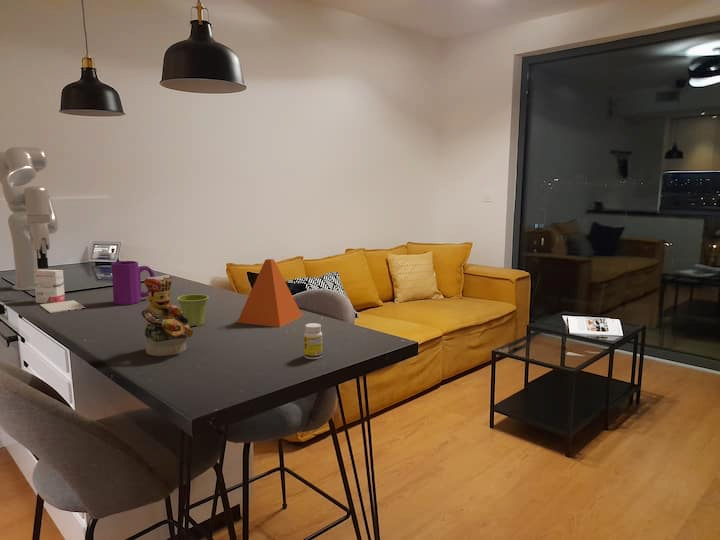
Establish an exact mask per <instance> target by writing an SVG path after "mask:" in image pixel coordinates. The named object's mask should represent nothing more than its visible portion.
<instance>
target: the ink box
mask: <svg viewBox="0 0 720 540" xmlns="http://www.w3.org/2000/svg"><path fill="white" fill-rule="evenodd" d="M34 280H35V294H34V295H35V303H37V304H38V303H39V304H48V303H56V302H64V301H66V299H65V298H66V297H65V295H66V294H65V280H64V270H63V269H42V270H36V271H34Z"/></svg>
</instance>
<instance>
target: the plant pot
mask: <svg viewBox="0 0 720 540" xmlns="http://www.w3.org/2000/svg"><path fill="white" fill-rule="evenodd" d="M208 299H209V296H208V295H206V294H202V293H201V294H198V293H197V294H196V293H195V294H185V295H180V296H178V297H177V299H176V300H177V301H178V304H179V306H180V307H179V308H180V310H181V311H182V313H183V314H184V315H185V316H186V317H187V318H188V319H189V321H188V323H189V324H190V327H194V326H196V327H197V326H202V325H204V323H205V315H206V307H207V306H206V305H207V303H208Z"/></svg>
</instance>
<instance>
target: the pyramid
mask: <svg viewBox="0 0 720 540" xmlns="http://www.w3.org/2000/svg"><path fill="white" fill-rule="evenodd" d="M301 317H303V313H302V312H301V310H300V308H299V306H298V304H297V302H296V301H295V297H294V296H293V293H292V292H291V291H290V288H289V286H288V284H287V282H286V280H285V279H284V276H283V275H282V272H281V270H280V269H279V266H278V265H277V263H276V261H275V259H274V258H268V259H267V258H266V259H265V260H264V262H263V264H262V266H261V268H260V271H259V273H258V275H257V277H256V279H255V282H254V284H253V286H252V288H251V291H250V292H249V295H248V297H247V299H246V302H245V303H244V306H243V308H242V310H241V312H240V314H239V317H238V319H237V321H236V323H239V324H246V325H247V324H250V325H258V326H266V327H267V326H268V327H272V328H273V327H275V328H282V327H283V326H286V325H288V324H290V323H292V322H293V321H296V320H297V319H300V318H301Z"/></svg>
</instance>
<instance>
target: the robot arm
mask: <svg viewBox="0 0 720 540" xmlns="http://www.w3.org/2000/svg"><path fill="white" fill-rule="evenodd" d="M47 165H48V158H47V154H46V152H45V151H44V150H43V149H42V148H40V147H27V146H12V147H9V148H8V149H6V150H5V151H0V184H1V185H2V186H1V187H2V193H3V196H4V199H5V201H6V203H7V206H8V208H9V210H10V211H11V212H12V214H10V215H9V216H8V219H7V223H8V228H9V231H10V236H11V240H12V241H11V243H12V250H13V259H14V267H15V268H14V270H15V271H14V272H15V280H16V284H14V285H12V290H15V291H34V290H35V280H34V271H36V270H46V269H49V260H48V251H49V250H50V248H51V243H50V242H51V241H50V235H52V234H55V233H56V232H57V231H58V230H59V222H58V218H57V213H56V210H55V207H54V203H53V199H52V197H51V196H50V194H49V193H50V192H49V190H48V189H47V187H46V186H45V187H44V186H39V185H38V186H37V185H35V186H34V185H32V186H31V185H29V186H28V184H29V183H31V182H33V180H35V179H36V176H37V173H39V172H41V171H43V170H44V169H46V167H47Z"/></svg>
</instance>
